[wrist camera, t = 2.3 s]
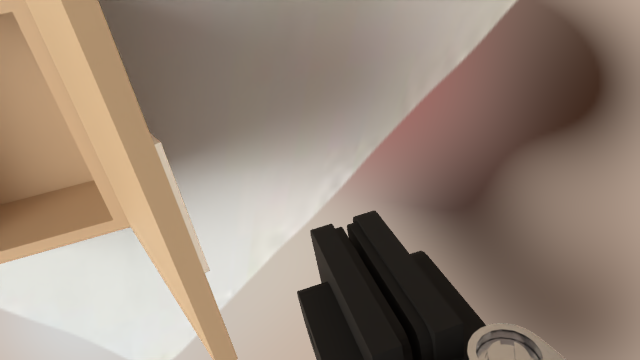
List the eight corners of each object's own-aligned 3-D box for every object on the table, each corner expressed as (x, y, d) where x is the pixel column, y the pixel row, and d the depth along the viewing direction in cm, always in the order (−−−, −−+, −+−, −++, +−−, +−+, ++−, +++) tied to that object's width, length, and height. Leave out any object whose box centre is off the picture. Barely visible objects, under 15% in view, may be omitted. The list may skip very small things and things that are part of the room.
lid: (20, -10, 21) (43, -14, 22) (131, 227, 28) (146, 220, 28) (55, -14, 10) (98, -22, 11) (219, 370, 17) (242, 355, 18)
